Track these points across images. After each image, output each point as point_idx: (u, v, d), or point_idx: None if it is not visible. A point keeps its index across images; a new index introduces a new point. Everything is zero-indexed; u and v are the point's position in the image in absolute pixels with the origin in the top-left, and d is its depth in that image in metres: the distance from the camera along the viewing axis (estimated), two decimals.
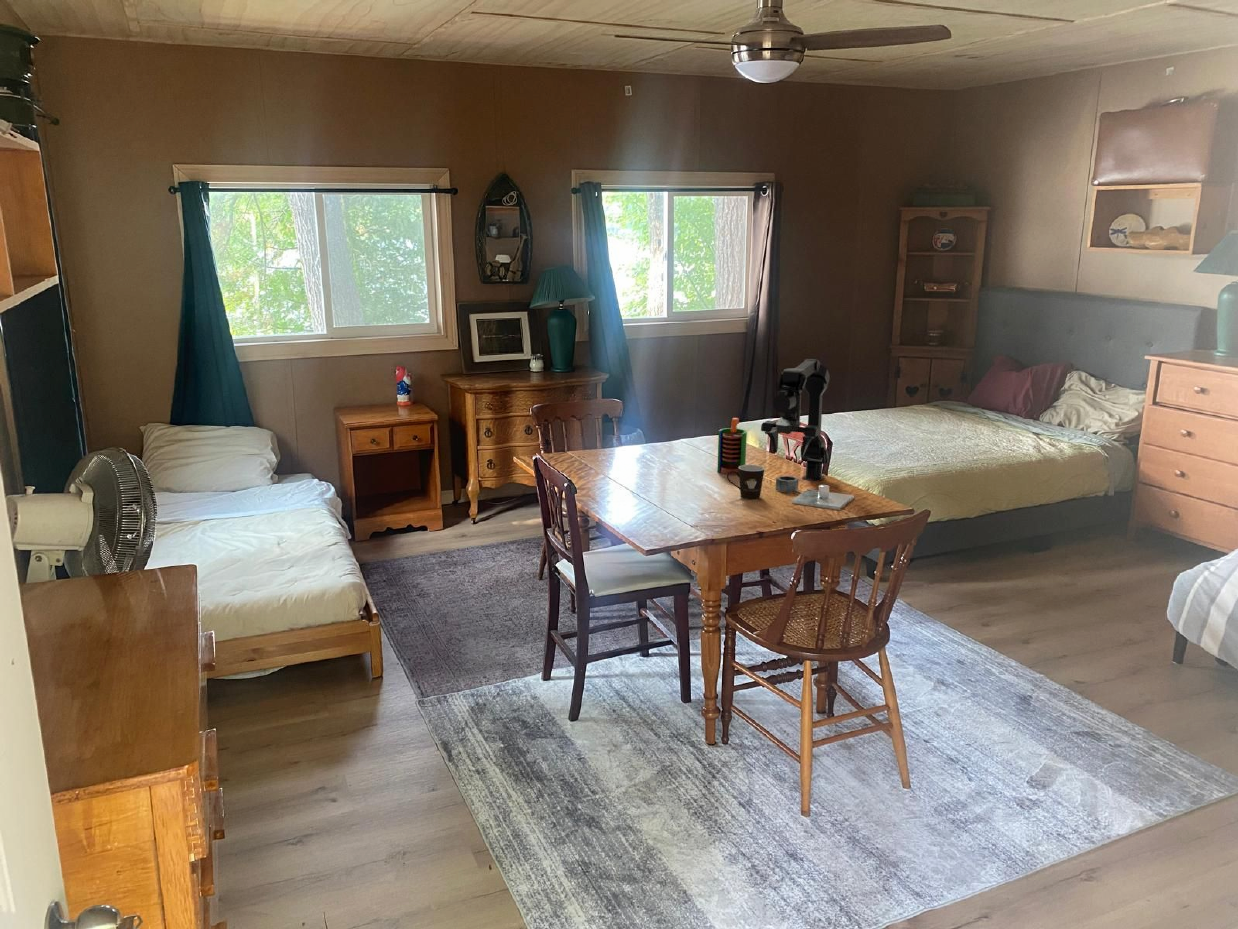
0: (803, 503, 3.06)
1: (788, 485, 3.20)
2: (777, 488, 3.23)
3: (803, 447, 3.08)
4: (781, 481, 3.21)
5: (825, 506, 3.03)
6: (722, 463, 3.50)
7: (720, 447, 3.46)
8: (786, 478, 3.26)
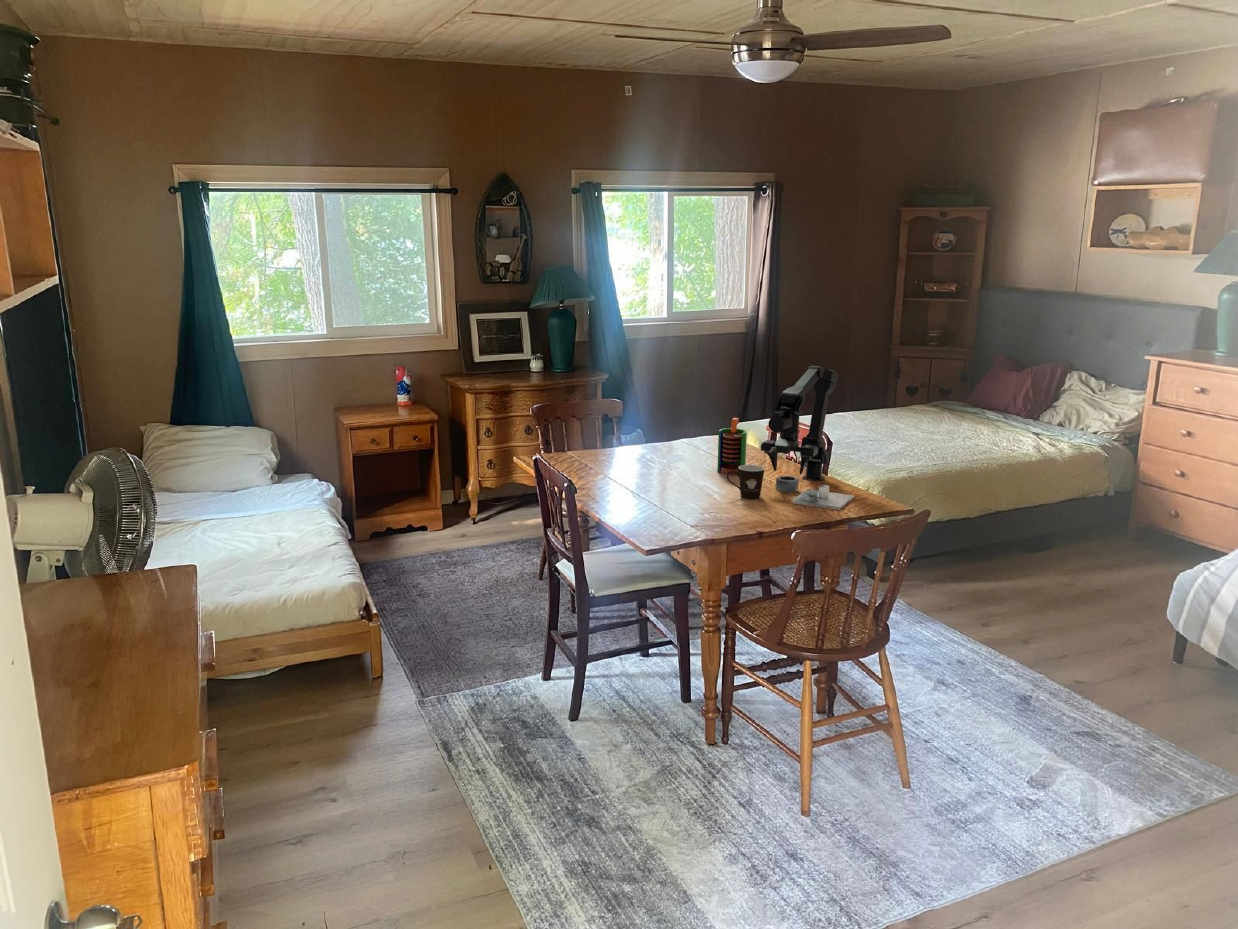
0: (803, 503, 3.06)
1: (788, 485, 3.20)
2: (777, 488, 3.23)
3: (801, 466, 3.19)
4: (781, 481, 3.21)
5: (825, 506, 3.03)
6: (722, 463, 3.50)
7: (720, 447, 3.46)
8: (786, 478, 3.26)
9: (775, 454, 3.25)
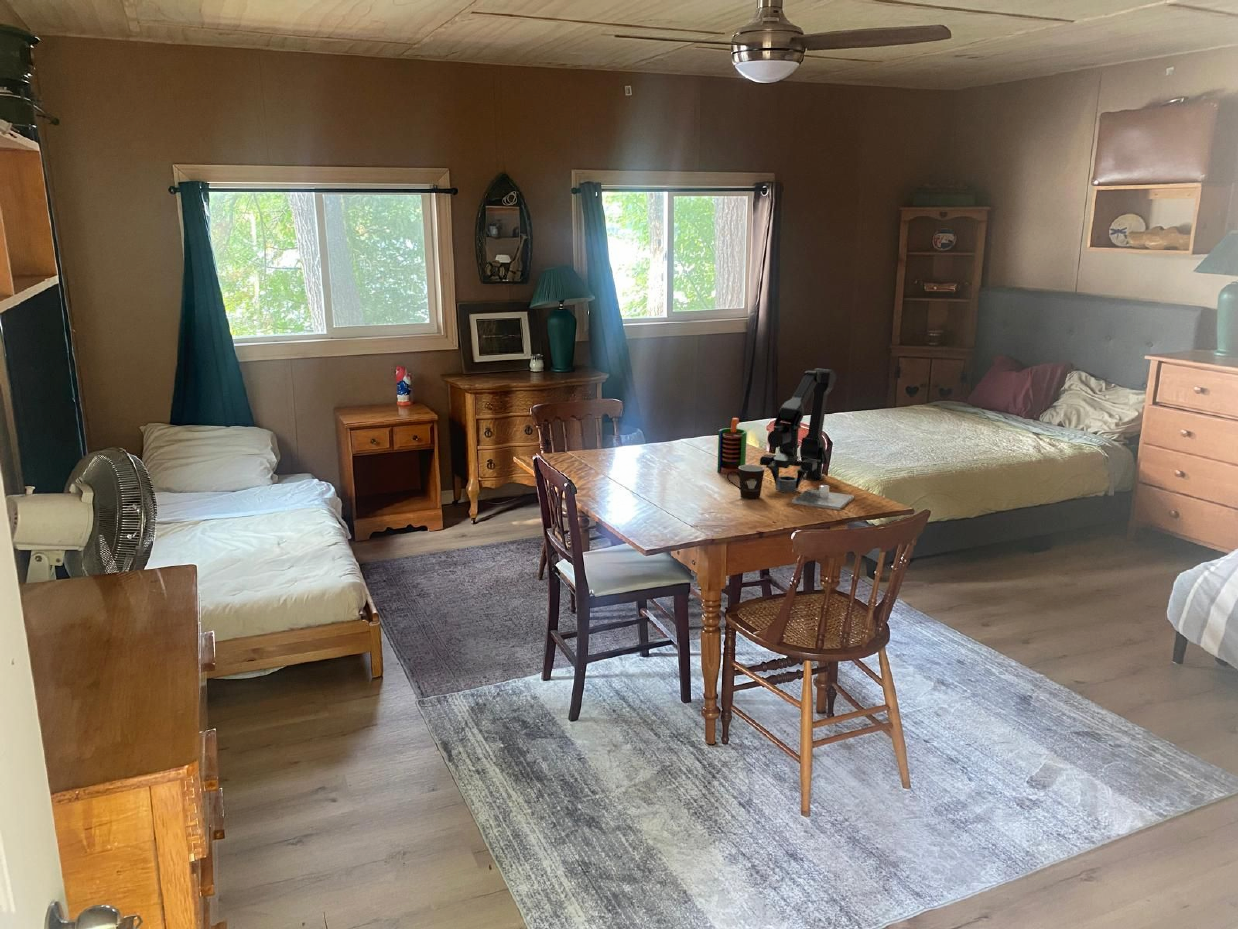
0: (803, 503, 3.06)
1: (788, 485, 3.20)
2: (777, 488, 3.23)
3: (798, 480, 3.21)
4: (781, 481, 3.21)
5: (825, 506, 3.03)
6: (722, 463, 3.50)
7: (720, 447, 3.46)
8: (786, 478, 3.26)
9: (777, 468, 3.25)
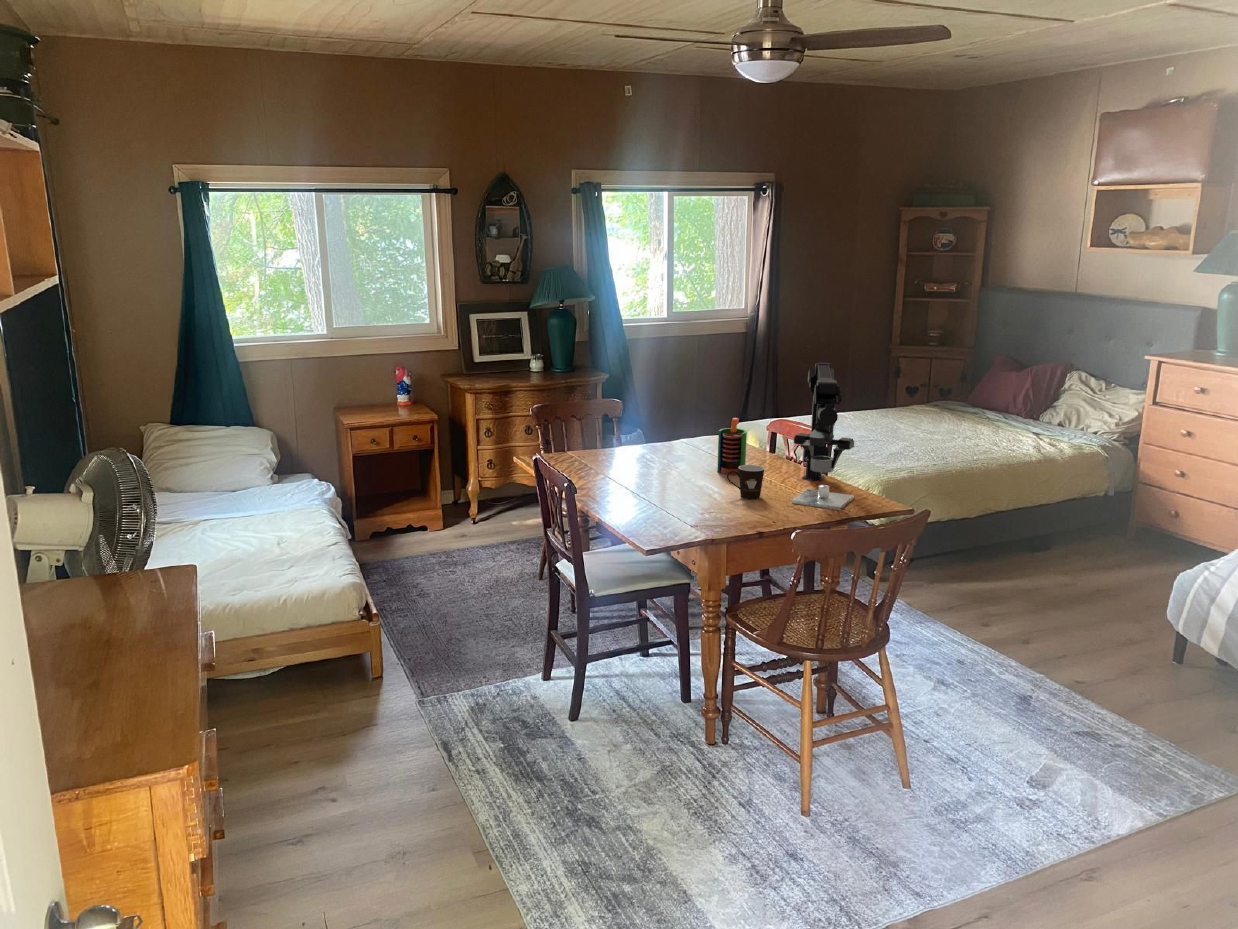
0: (803, 503, 3.06)
1: (823, 465, 3.05)
2: (812, 468, 3.08)
3: (834, 459, 3.06)
4: (816, 460, 3.06)
5: (825, 506, 3.03)
6: (722, 463, 3.50)
7: (720, 447, 3.46)
8: (821, 458, 3.11)
9: (811, 448, 3.10)
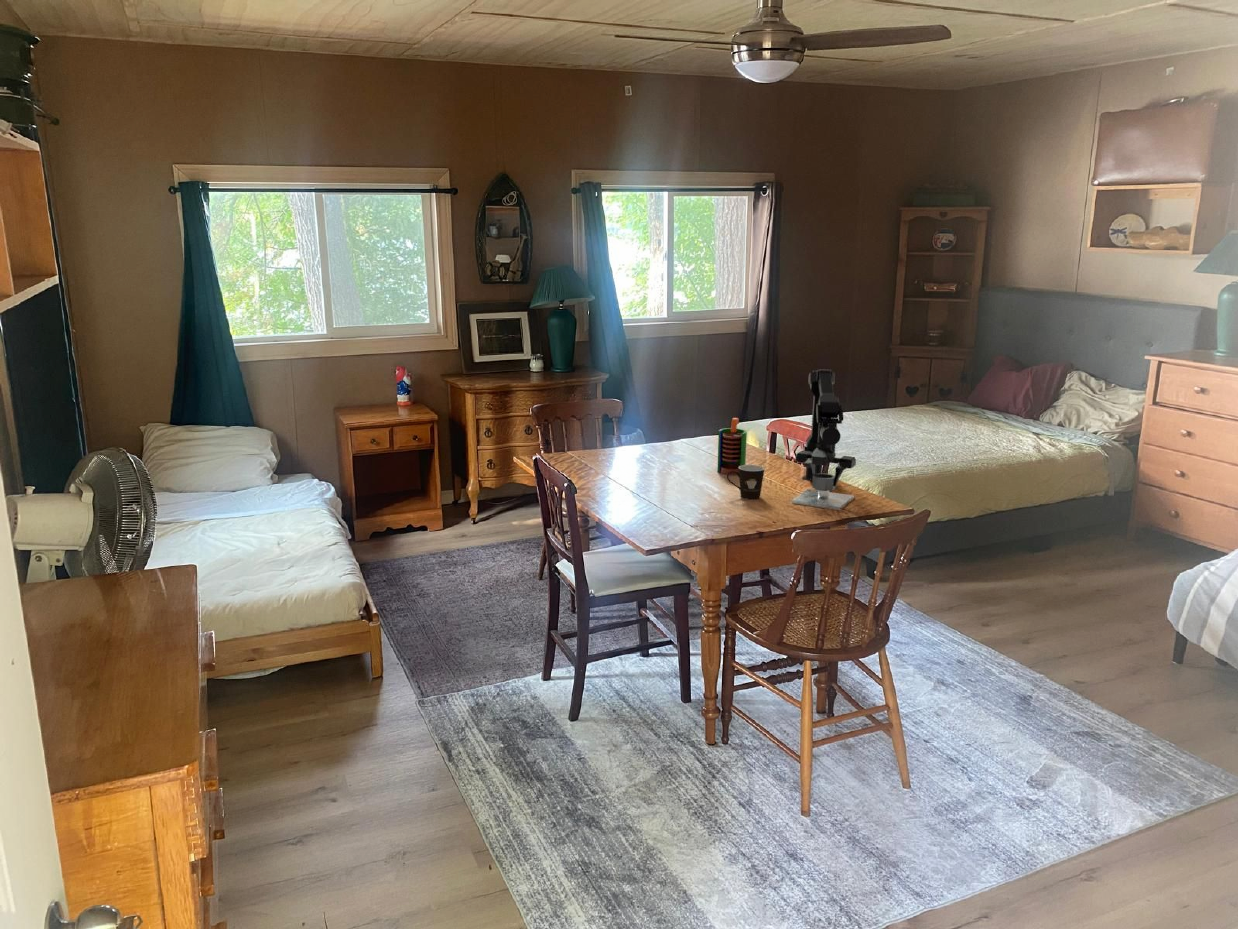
0: (803, 503, 3.06)
1: (825, 483, 3.06)
2: (814, 486, 3.09)
3: (836, 478, 3.07)
4: (818, 479, 3.07)
5: (825, 506, 3.03)
6: (722, 463, 3.50)
7: (720, 447, 3.46)
8: (823, 476, 3.12)
9: (813, 466, 3.11)
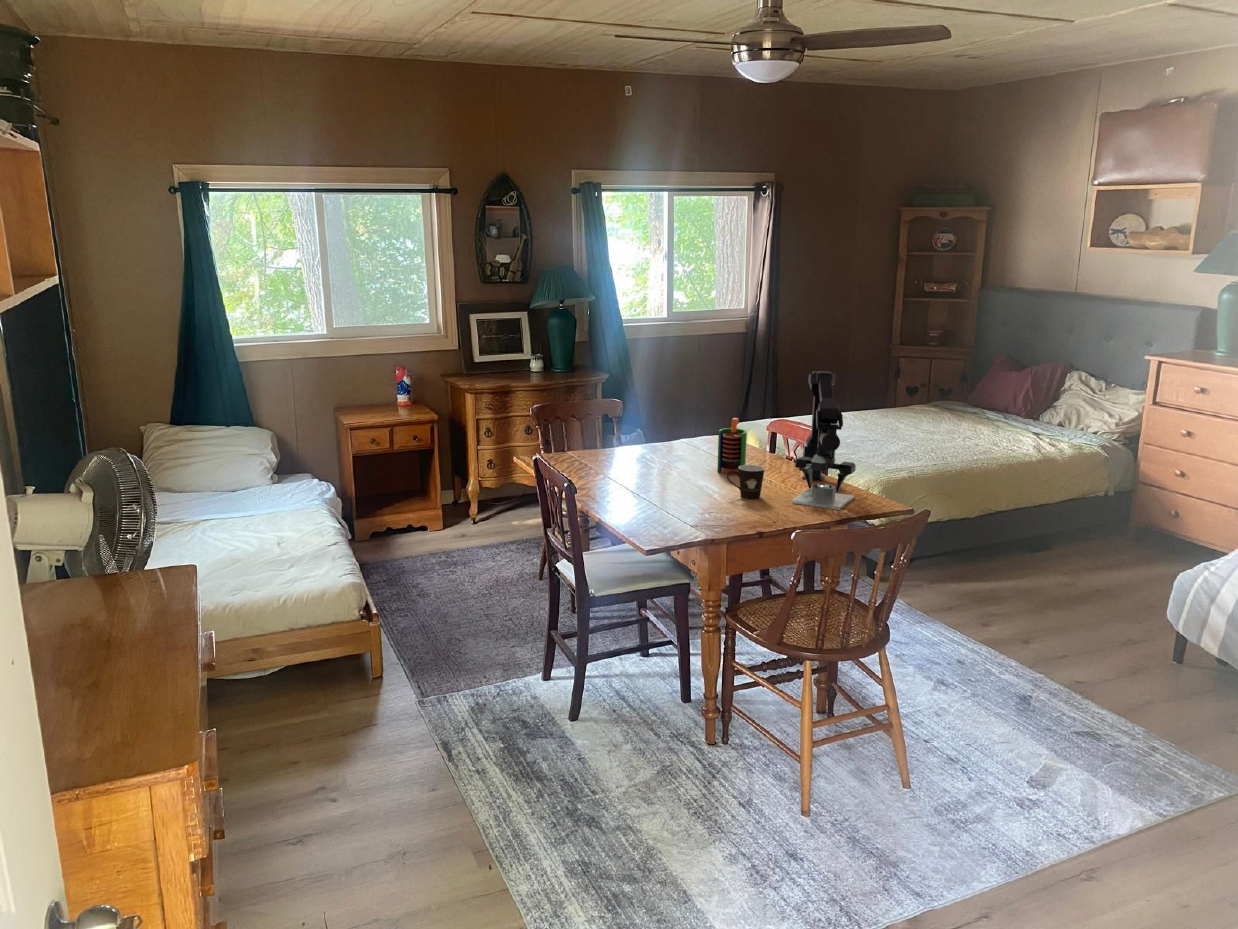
0: (803, 503, 3.06)
1: (824, 493, 3.07)
2: (813, 496, 3.10)
3: (838, 484, 3.07)
4: (817, 489, 3.08)
5: (825, 506, 3.03)
6: (722, 463, 3.50)
7: (720, 447, 3.46)
8: None
9: (810, 471, 3.12)
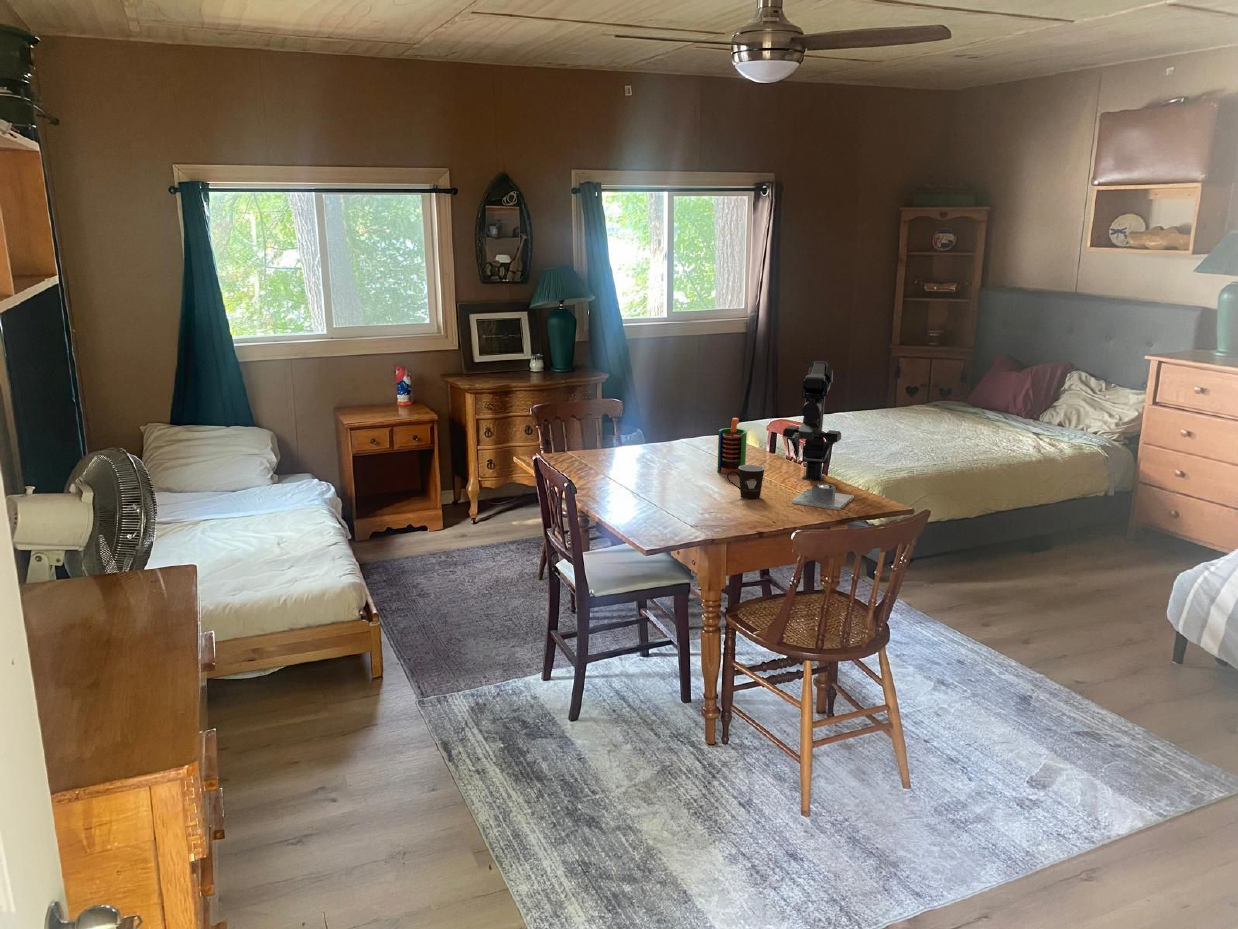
0: (803, 503, 3.06)
1: (824, 493, 3.07)
2: (813, 496, 3.10)
3: (824, 452, 3.16)
4: (817, 489, 3.08)
5: (825, 506, 3.03)
6: (722, 463, 3.50)
7: (720, 447, 3.46)
8: None
9: (797, 440, 3.21)
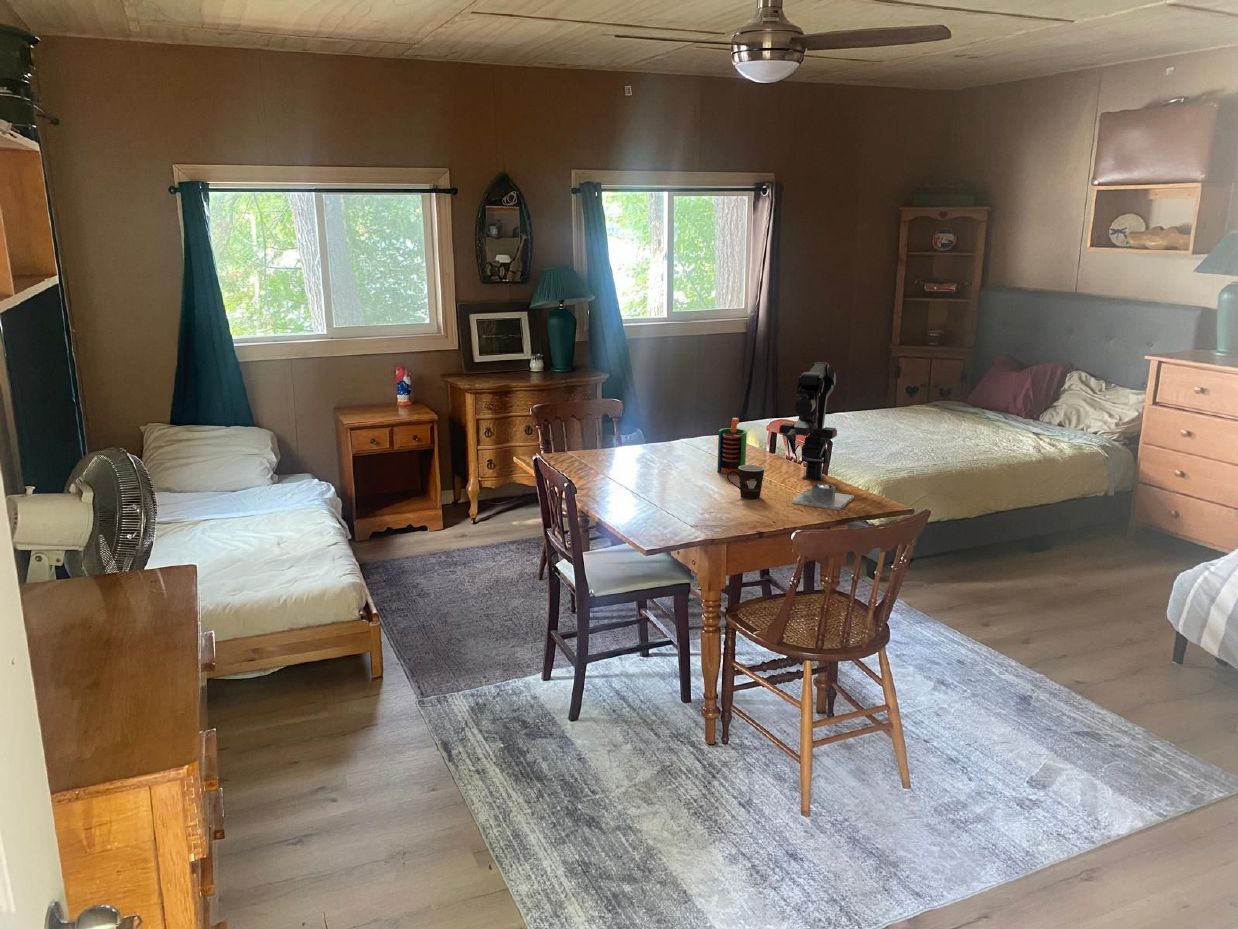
0: (803, 503, 3.06)
1: (824, 493, 3.07)
2: (813, 496, 3.10)
3: (820, 448, 3.19)
4: (817, 489, 3.08)
5: (825, 506, 3.03)
6: (722, 463, 3.50)
7: (720, 447, 3.46)
8: None
9: (794, 437, 3.24)
